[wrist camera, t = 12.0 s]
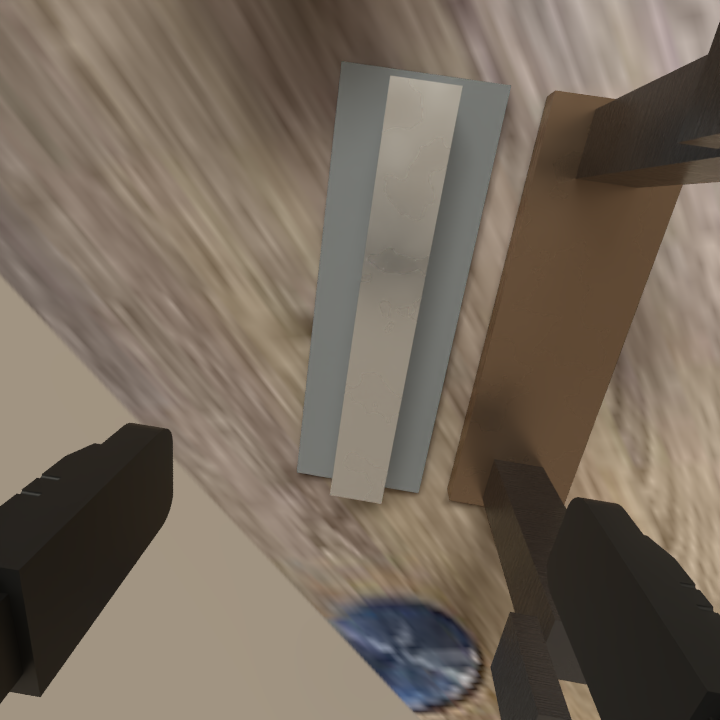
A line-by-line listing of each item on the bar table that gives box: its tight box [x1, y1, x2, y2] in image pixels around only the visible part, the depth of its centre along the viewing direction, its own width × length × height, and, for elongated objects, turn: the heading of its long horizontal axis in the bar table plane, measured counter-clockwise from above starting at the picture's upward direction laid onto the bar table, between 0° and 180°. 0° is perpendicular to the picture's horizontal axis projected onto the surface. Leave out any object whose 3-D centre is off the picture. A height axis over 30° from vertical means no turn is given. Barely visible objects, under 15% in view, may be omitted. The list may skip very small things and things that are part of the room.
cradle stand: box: [448, 22, 720, 720], centre depth 18 cm, size 7×23×16 cm, turn 172°
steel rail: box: [330, 76, 463, 504], centre depth 23 cm, size 3×21×3 cm, turn 172°
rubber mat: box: [297, 61, 511, 493], centre depth 25 cm, size 8×23×1 cm, turn 172°
